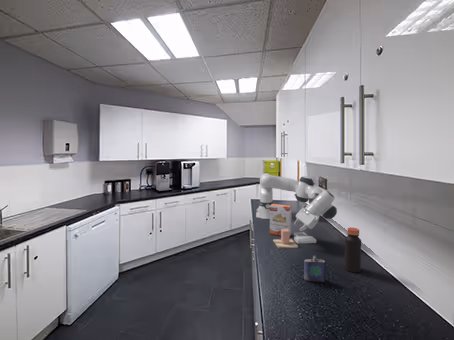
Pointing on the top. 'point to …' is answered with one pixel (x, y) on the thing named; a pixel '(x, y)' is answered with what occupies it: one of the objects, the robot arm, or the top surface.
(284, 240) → the block
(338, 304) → the top surface
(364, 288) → the top surface
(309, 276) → the flask
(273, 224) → the cracker box
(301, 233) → the dispenser
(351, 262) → the bottle
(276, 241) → the board
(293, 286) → the top surface
